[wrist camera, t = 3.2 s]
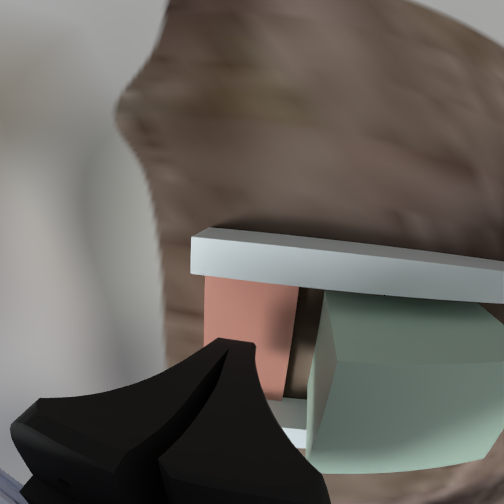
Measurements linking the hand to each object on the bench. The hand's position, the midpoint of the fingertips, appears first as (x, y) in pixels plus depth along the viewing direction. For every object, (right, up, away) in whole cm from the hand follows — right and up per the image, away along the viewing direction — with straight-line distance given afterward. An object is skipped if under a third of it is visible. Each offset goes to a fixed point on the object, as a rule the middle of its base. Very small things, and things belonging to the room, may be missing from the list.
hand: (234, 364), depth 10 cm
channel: (+6, 0, +1) cm, 6 cm away
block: (+7, 0, +1) cm, 7 cm away
